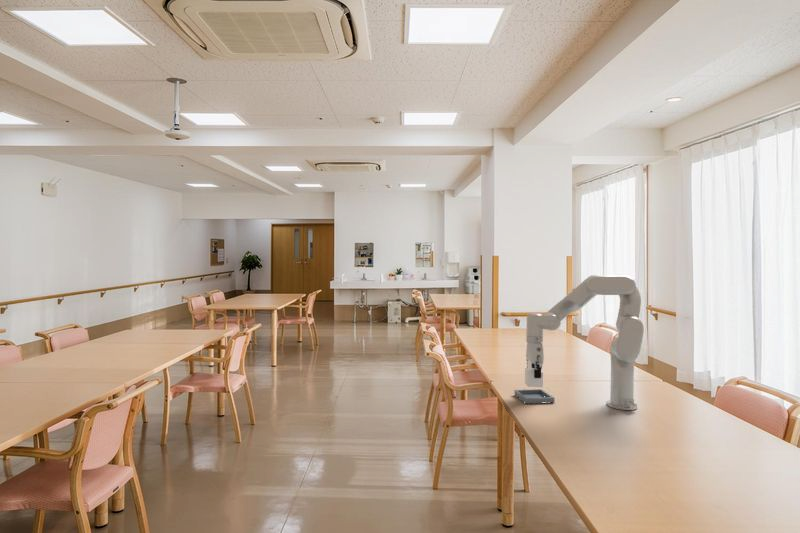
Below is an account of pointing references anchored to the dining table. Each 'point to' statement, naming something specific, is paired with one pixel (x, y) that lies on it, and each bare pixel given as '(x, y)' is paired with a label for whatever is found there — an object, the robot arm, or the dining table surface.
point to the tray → (533, 396)
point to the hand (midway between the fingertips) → (533, 375)
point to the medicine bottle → (532, 376)
